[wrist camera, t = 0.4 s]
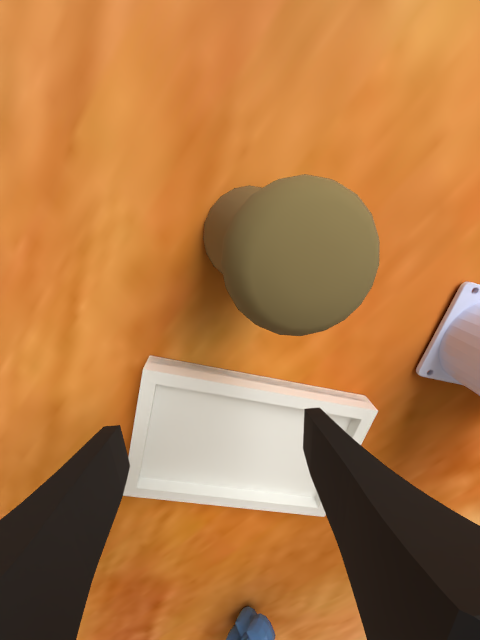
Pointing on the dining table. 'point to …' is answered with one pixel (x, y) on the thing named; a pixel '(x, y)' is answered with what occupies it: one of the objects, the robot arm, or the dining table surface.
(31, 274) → the dining table surface
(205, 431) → the white tray
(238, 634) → the grapes
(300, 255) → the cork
